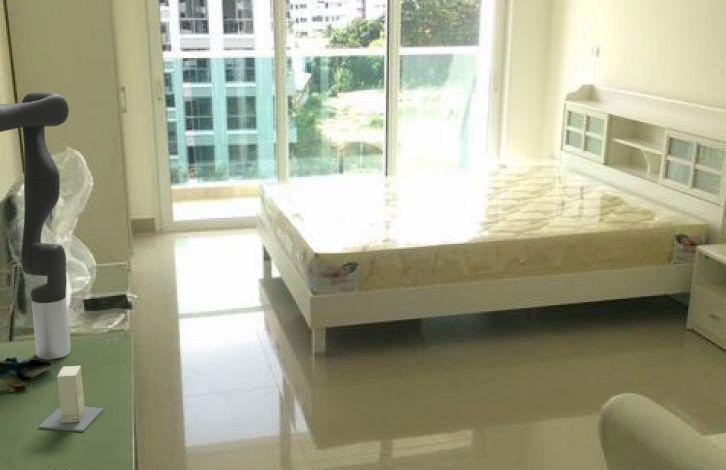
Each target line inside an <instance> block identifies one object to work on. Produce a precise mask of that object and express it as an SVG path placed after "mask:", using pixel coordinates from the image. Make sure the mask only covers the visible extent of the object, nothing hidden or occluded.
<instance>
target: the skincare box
mask: <svg viewBox="0 0 726 470" xmlns="http://www.w3.org/2000/svg"><path fill="white" fill-rule="evenodd" d="M56 379H57V380H56V381H57V390H58V400H59V407H60V413H61V423H71V422H80V420H81V418H82V416H83V414H84V411H85V407H86V406H85V395H84V387H83V385H84V383H83V376H82V366H81V365H68V366H67V365H66V366H62V367H61V369H60V370H59V372H58V374H57V376H56Z"/></svg>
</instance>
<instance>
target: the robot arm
mask: <svg viewBox="0 0 726 470" xmlns="http://www.w3.org/2000/svg"><path fill="white" fill-rule="evenodd" d="M69 108H70V107H69V104H68V101H67V100H66V99H65V98H64V97H63V96H62V95H60V94H58V93H54V92H29V93H27V94H26V95H25V96H23V99H22V101H21V102H16V103H0V133H2V132H6V131H10V130H16V129H21V128H22V129H21V130H22V136H23V150H24V151H23V152H24V153H23V155H24V160H23V161H24V171H23V172H24V173H23V174H24V175H23V177H24V178H23V179H24V180H23V185H24V186H23V197H24V198H23V199H24V202H23V203H24V207H23V208H24V211H23V213H24V215H23V217H24V218H23V219H24V221H23V230H22V232H23V233H22V243H21V251H20V252H21V253H20V255H21V256H20V262H21V269H22V271H23V272H24V274H26V275H27V276H28V275H29V276H40V277H42V276H43V277H46V283H42V284H39V285H38V286H35V287H34V288H32V289H31V291H30V297H31V298H30V299H31V301H30V302H31V309H32V310H31V311H32V320H33V331H34V333H33V334H34V343H35V345H34V346H35V353H36V358H38V359H41V360H57V359H61V358H65V357H66V356H68V355H69V354H70V353H71V348H72V347H71V334H70V333H71V331H70V321H69V320H70V319H69V318H68V317H69V315H68V304H67V293H66V291H67V281H68V280H67V256H66V251H65V249H64V247H63V246H62V245H61V244H58V243H45V242H42V232H43V227H44V225H45V222H46V221H47V219H48V217H49V216H50V214H51V213H52V211H53V210H54V208H55V207H56V205H57V204H58V201H59V198H60V193H61V192H60V191H61V190H60V188H61V187H60V186H61V185H60V184H61V183H60V182H61V181H60V180H61V179H60V176H61V175H60V172H59V170H58V166H57V164H56V163H55V160H54V159H53V157H52V155H51V153H50V151H49V149H48V146H47V144H46V133H45V129H46V128H45V127H58V126H61V125H63V124H64V123H65V122H66V120H67V119H68V117H69V114H70V112H69Z"/></svg>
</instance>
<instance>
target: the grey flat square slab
mask: <svg viewBox="0 0 726 470" xmlns="http://www.w3.org/2000/svg"><path fill="white" fill-rule="evenodd" d="M84 407H85V411H84V414H83V416H82V418H81V420H80V422H71V423H61V413H60V406H59V407H58V408H57V409H56V410H55V411H54V412H53V413H51V414H50V415H49V417H47V418H46V419H45V420H44V421H43V422H42V423H41V424H40V425H39V426H38V429H40V430H42V429H43V430H44V429H45V430H53V431H54V430H55V431H56V430H57V431H67V432H81V433H84V432H85V431H86V430H87V429H88V428H89V427H90V426H91V425H92V424H93V422H94V421H95V420H97V418H98V417H100V416H101V414H102V413H103V412H104V411H105V408H104V407H93V406H92V407H91V406H84Z"/></svg>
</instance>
